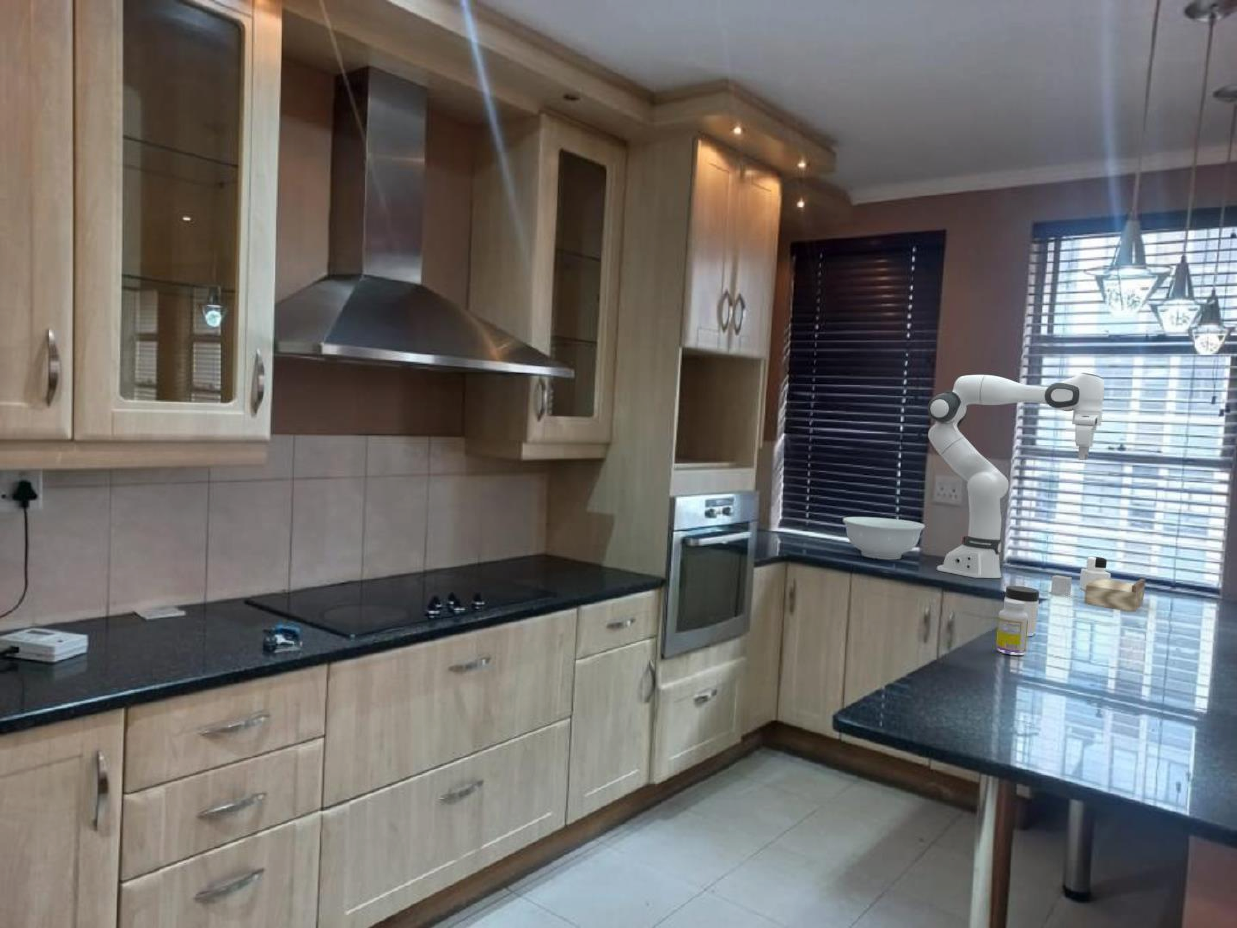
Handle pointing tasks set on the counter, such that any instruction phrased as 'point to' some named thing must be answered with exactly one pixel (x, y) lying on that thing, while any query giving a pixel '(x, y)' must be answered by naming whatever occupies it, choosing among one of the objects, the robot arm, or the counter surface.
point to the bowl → (882, 536)
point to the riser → (1115, 594)
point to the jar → (1026, 603)
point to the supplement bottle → (1012, 627)
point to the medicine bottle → (1093, 571)
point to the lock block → (1061, 585)
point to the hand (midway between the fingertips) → (1082, 459)
